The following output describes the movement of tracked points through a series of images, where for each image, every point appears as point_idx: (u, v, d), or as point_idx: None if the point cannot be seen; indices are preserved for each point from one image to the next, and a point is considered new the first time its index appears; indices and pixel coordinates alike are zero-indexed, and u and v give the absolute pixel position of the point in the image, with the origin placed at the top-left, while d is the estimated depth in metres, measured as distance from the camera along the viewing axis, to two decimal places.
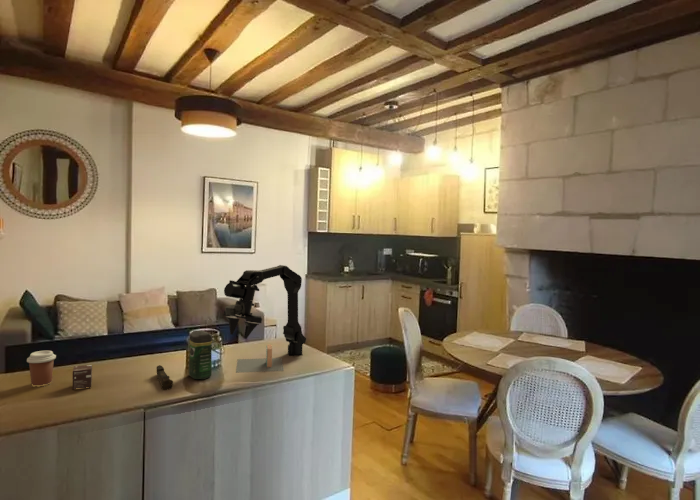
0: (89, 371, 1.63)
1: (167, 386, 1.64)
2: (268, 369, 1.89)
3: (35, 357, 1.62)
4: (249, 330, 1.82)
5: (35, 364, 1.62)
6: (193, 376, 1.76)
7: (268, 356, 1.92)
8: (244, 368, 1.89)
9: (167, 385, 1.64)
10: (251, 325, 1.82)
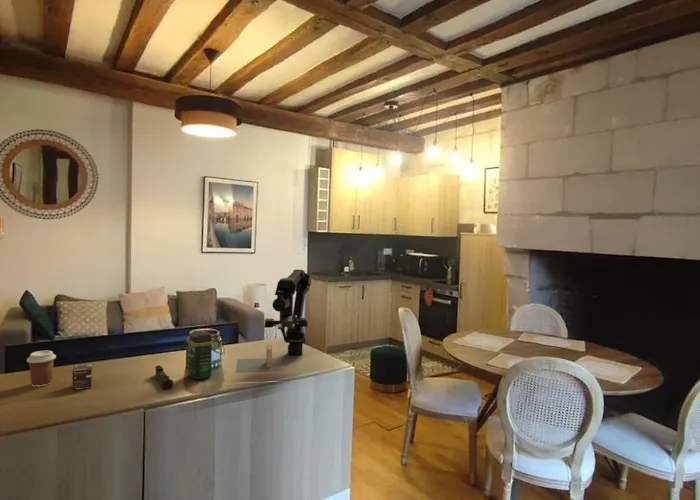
0: (89, 371, 1.63)
1: (167, 386, 1.65)
2: (268, 369, 1.89)
3: (35, 357, 1.62)
4: (288, 333, 1.97)
5: (35, 364, 1.62)
6: (193, 376, 1.76)
7: (268, 356, 1.92)
8: (244, 368, 1.89)
9: (168, 385, 1.65)
10: None
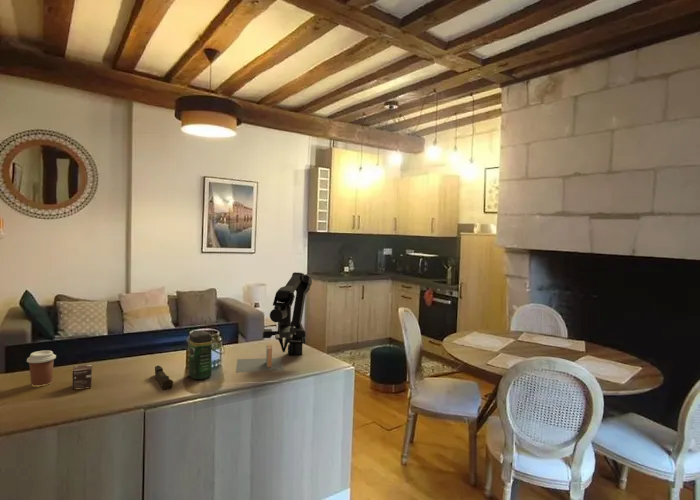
0: (89, 371, 1.63)
1: (167, 386, 1.65)
2: (268, 369, 1.89)
3: (35, 357, 1.62)
4: (286, 344, 1.97)
5: (35, 364, 1.62)
6: (193, 376, 1.76)
7: (268, 356, 1.92)
8: (244, 368, 1.89)
9: (168, 385, 1.65)
10: None
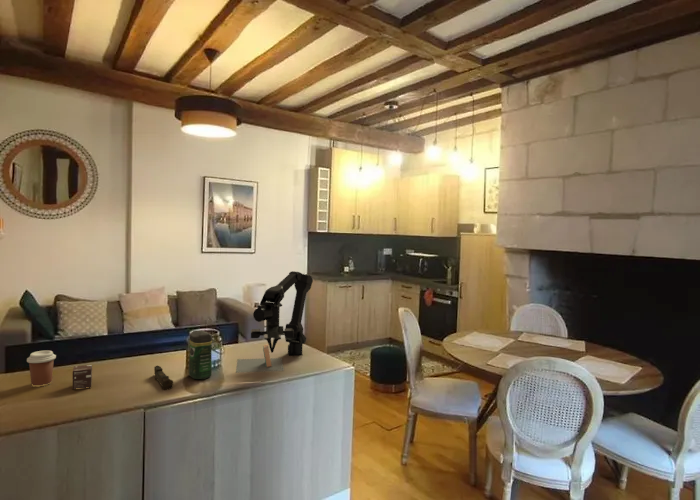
0: (89, 371, 1.63)
1: (167, 386, 1.65)
2: (268, 369, 1.89)
3: (35, 357, 1.62)
4: None
5: (35, 364, 1.62)
6: (193, 376, 1.76)
7: (266, 356, 1.91)
8: (244, 368, 1.89)
9: (168, 385, 1.65)
10: None
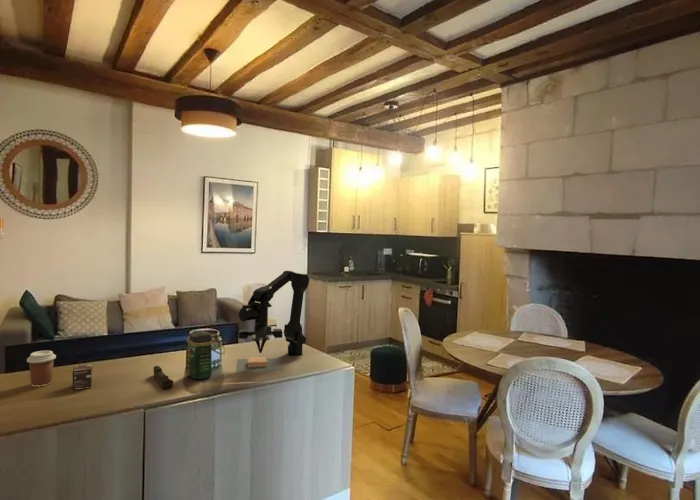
0: (89, 371, 1.63)
1: (167, 386, 1.65)
2: (268, 369, 1.89)
3: (35, 357, 1.62)
4: (263, 344, 1.95)
5: (35, 364, 1.62)
6: (193, 376, 1.76)
7: (255, 365, 1.91)
8: (244, 368, 1.89)
9: (168, 385, 1.65)
10: None
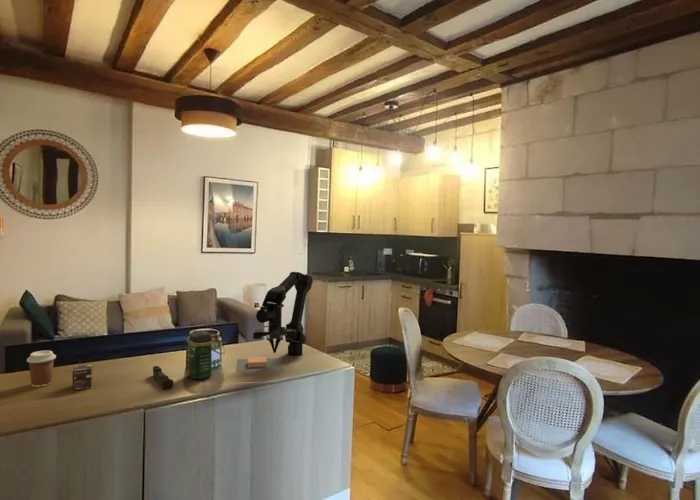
0: (89, 371, 1.63)
1: (168, 386, 1.65)
2: (268, 369, 1.89)
3: (35, 357, 1.62)
4: (277, 344, 1.96)
5: (35, 364, 1.62)
6: (193, 376, 1.76)
7: (255, 365, 1.91)
8: (244, 368, 1.89)
9: (168, 385, 1.65)
10: None
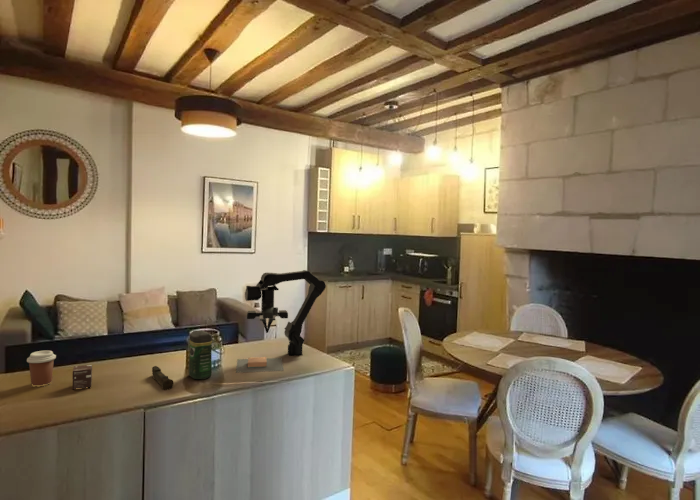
0: (89, 371, 1.63)
1: (168, 386, 1.65)
2: (268, 369, 1.89)
3: (35, 357, 1.62)
4: None
5: (35, 364, 1.62)
6: (193, 376, 1.76)
7: (255, 365, 1.91)
8: (244, 368, 1.89)
9: (168, 385, 1.65)
10: None
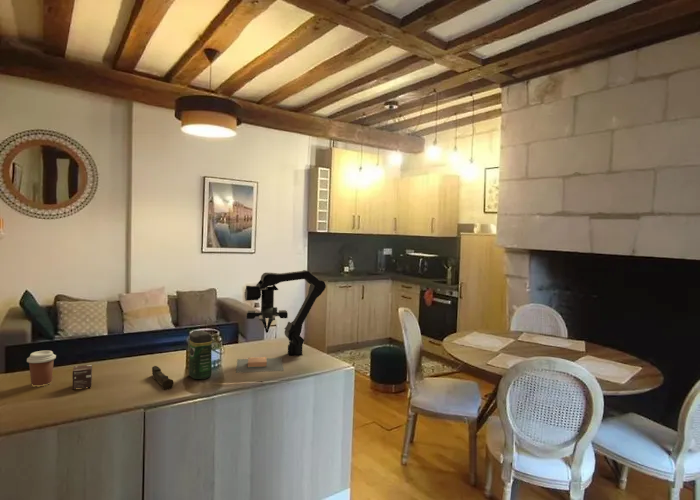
0: (89, 371, 1.63)
1: (168, 386, 1.65)
2: (268, 369, 1.89)
3: (35, 357, 1.62)
4: (269, 324, 2.07)
5: (35, 364, 1.62)
6: (193, 376, 1.76)
7: (255, 365, 1.91)
8: (244, 368, 1.89)
9: (168, 385, 1.65)
10: None
